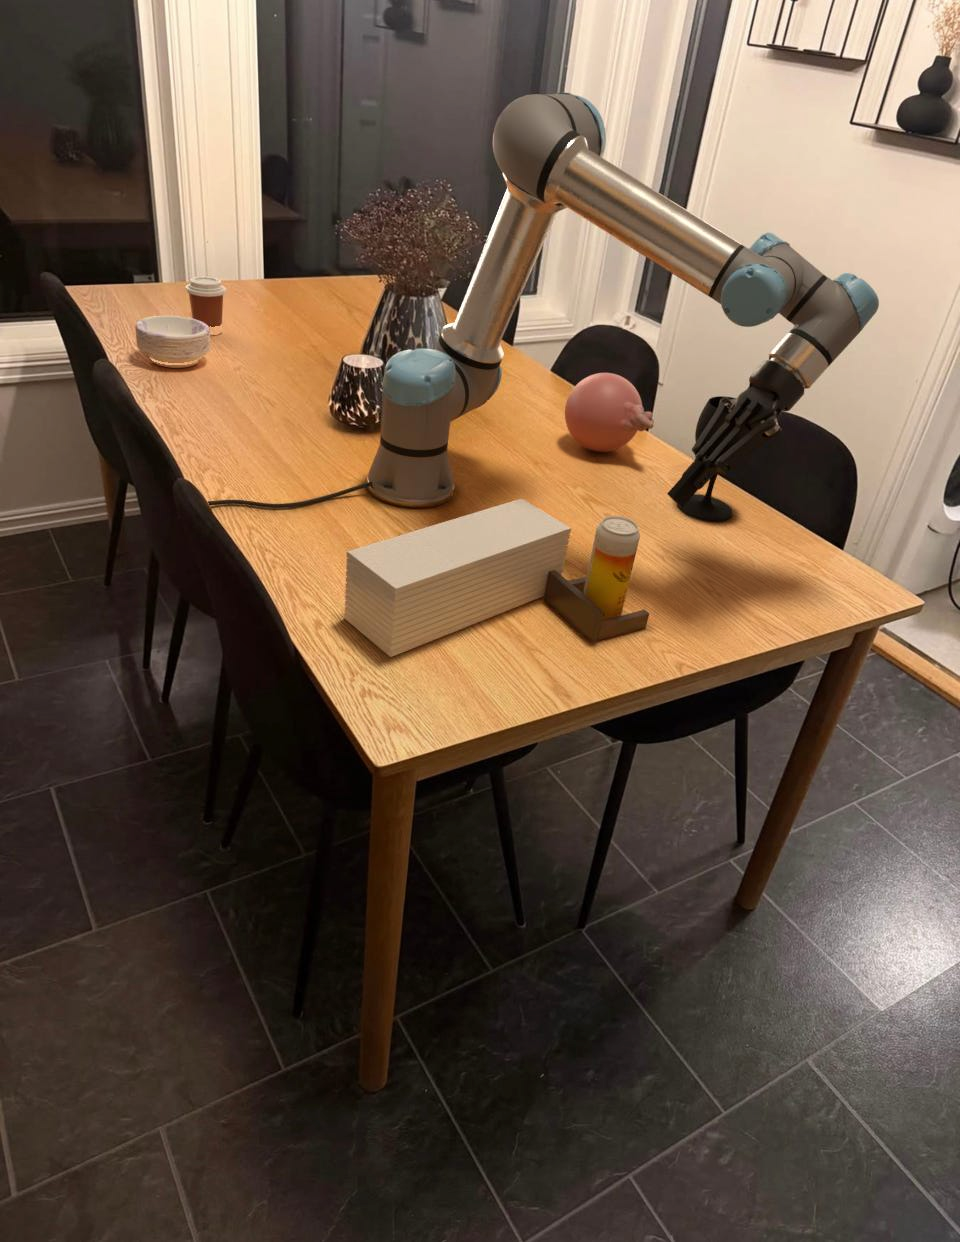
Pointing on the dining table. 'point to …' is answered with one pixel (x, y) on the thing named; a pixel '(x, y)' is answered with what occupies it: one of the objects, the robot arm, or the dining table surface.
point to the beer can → (611, 564)
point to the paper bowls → (173, 339)
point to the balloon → (605, 412)
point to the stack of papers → (452, 574)
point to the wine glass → (705, 504)
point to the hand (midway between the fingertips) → (674, 500)
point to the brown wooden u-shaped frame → (587, 610)
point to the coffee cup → (206, 299)
